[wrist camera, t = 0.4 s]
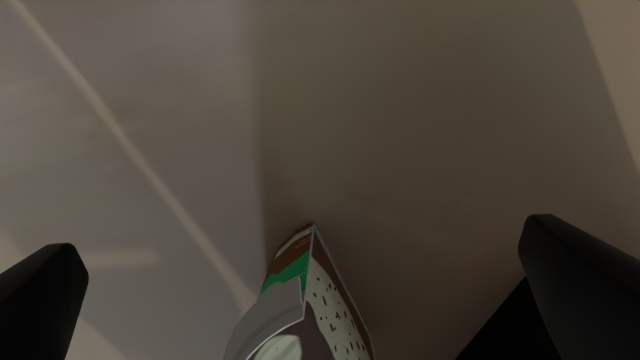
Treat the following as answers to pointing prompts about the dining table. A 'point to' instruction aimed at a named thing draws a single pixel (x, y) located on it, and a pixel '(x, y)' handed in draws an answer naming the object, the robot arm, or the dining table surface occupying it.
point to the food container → (302, 309)
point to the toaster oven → (513, 332)
